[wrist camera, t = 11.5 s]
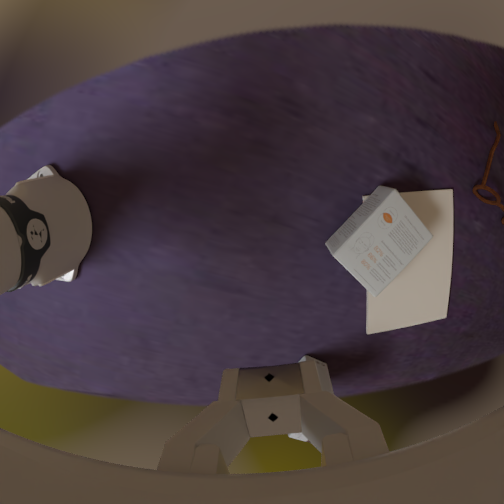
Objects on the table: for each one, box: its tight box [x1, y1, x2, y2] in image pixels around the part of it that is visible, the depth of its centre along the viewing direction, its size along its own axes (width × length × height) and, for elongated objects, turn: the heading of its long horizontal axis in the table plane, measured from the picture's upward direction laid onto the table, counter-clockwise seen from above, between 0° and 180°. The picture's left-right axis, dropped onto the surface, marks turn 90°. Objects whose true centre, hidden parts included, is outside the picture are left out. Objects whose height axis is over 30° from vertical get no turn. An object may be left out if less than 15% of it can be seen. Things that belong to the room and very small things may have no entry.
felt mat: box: [362, 189, 453, 334], centre depth 38 cm, size 14×20×1 cm
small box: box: [325, 186, 433, 297], centre depth 34 cm, size 8×6×10 cm
